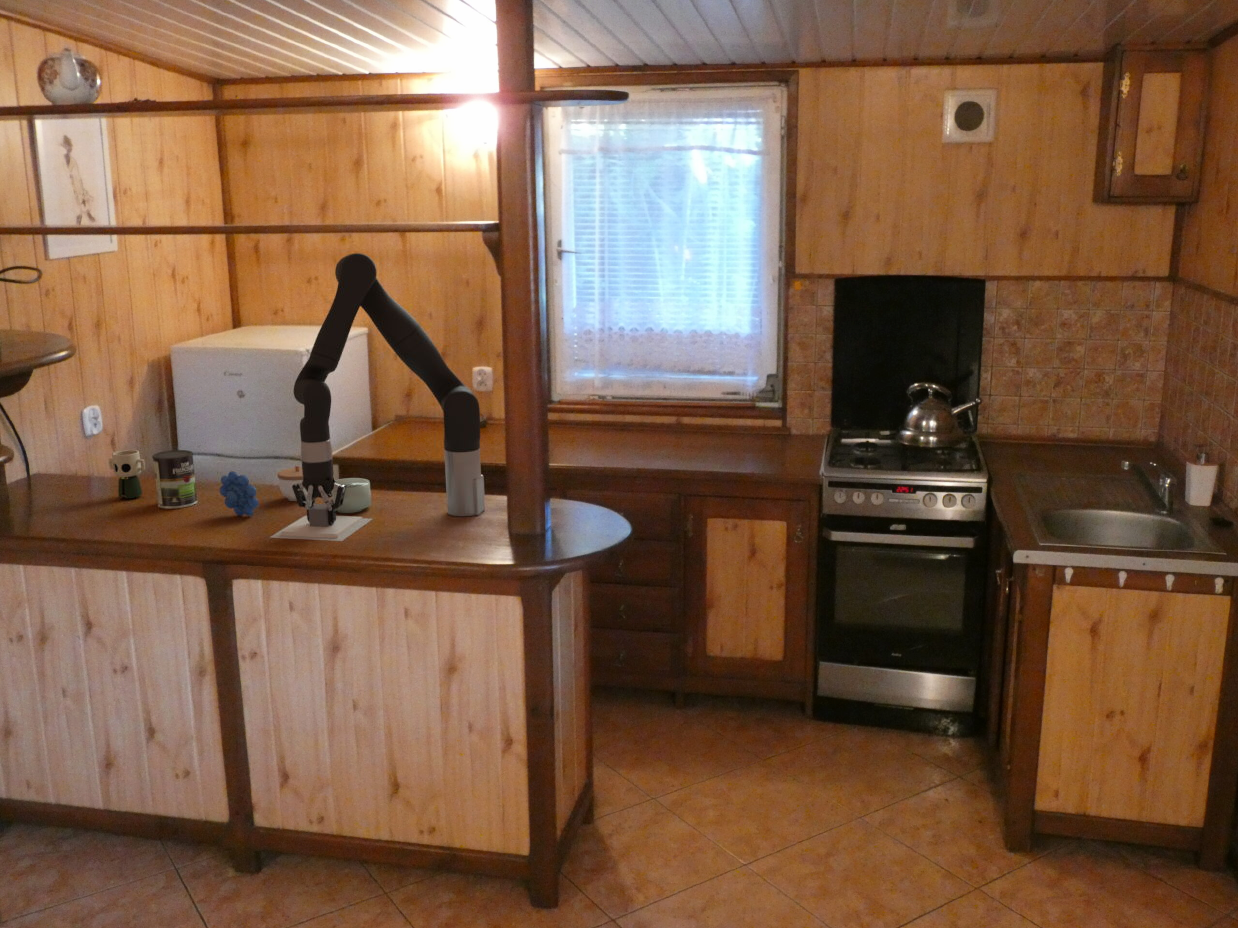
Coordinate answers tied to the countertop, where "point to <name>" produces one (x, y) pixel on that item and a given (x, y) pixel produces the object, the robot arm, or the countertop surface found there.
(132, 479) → the character mug
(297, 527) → the lid
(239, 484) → the grapes
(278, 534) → the mat
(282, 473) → the lidded jar
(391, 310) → the robot arm
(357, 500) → the bowl
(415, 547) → the countertop surface
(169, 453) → the coffee can
